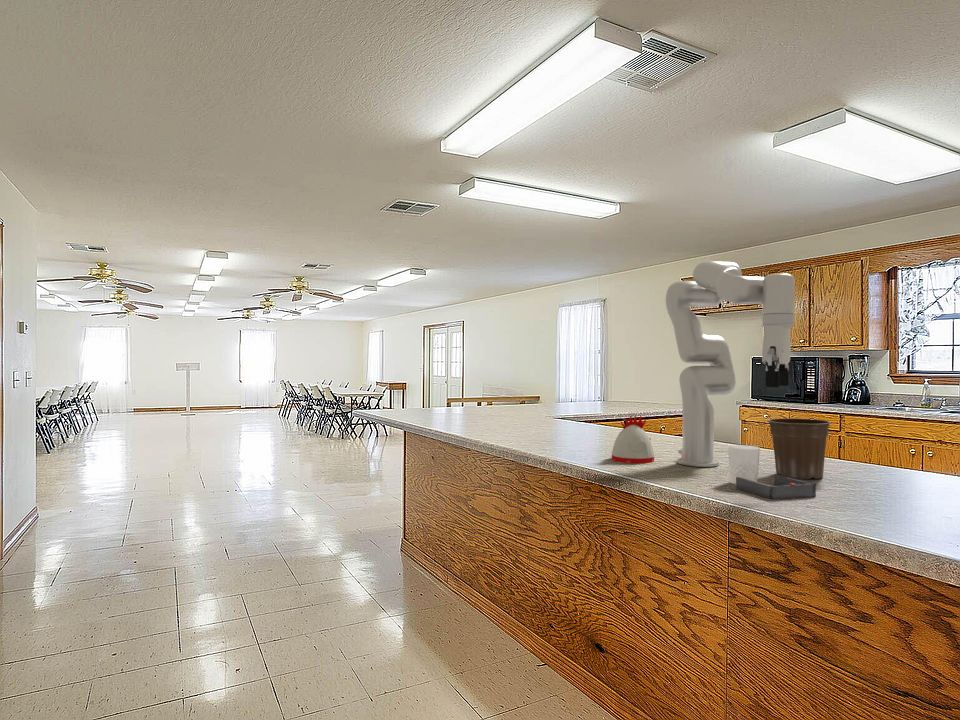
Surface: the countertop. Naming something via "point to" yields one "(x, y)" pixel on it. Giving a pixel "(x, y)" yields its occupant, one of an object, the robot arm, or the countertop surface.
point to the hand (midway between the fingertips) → (777, 386)
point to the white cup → (743, 462)
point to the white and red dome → (633, 444)
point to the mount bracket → (778, 488)
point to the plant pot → (799, 447)
